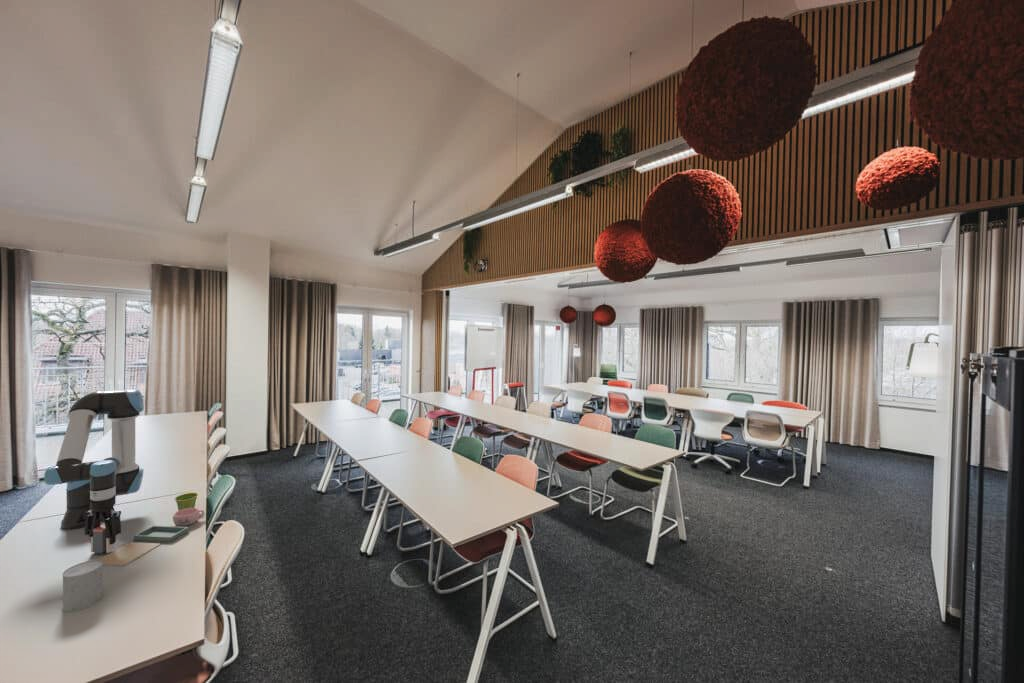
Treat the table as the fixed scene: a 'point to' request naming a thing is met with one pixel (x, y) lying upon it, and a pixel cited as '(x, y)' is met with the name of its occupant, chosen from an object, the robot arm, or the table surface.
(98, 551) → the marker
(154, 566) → the table surface
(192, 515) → the mug
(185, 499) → the plant pot
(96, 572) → the grey stone cylinder
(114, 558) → the tan board
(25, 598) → the table surface
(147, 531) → the tray
